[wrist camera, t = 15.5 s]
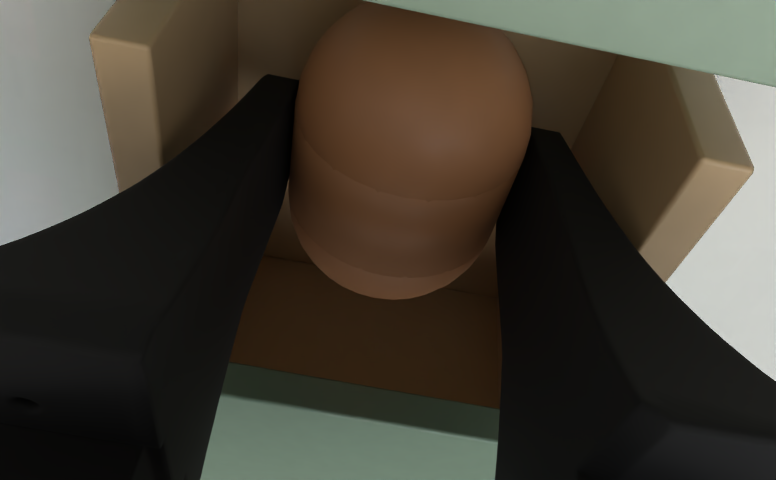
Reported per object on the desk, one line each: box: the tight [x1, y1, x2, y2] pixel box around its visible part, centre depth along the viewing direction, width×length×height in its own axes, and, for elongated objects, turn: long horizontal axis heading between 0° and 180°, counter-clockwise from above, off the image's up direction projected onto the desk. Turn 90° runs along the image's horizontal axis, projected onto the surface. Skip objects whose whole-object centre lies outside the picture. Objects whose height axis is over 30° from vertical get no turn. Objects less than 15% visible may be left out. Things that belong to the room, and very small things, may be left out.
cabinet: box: [200, 362, 500, 480], centre depth 20 cm, size 14×12×8 cm
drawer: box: [89, 0, 776, 409], centre depth 11 cm, size 17×10×6 cm, turn 170°
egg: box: [288, 1, 533, 300], centre depth 12 cm, size 6×4×4 cm
